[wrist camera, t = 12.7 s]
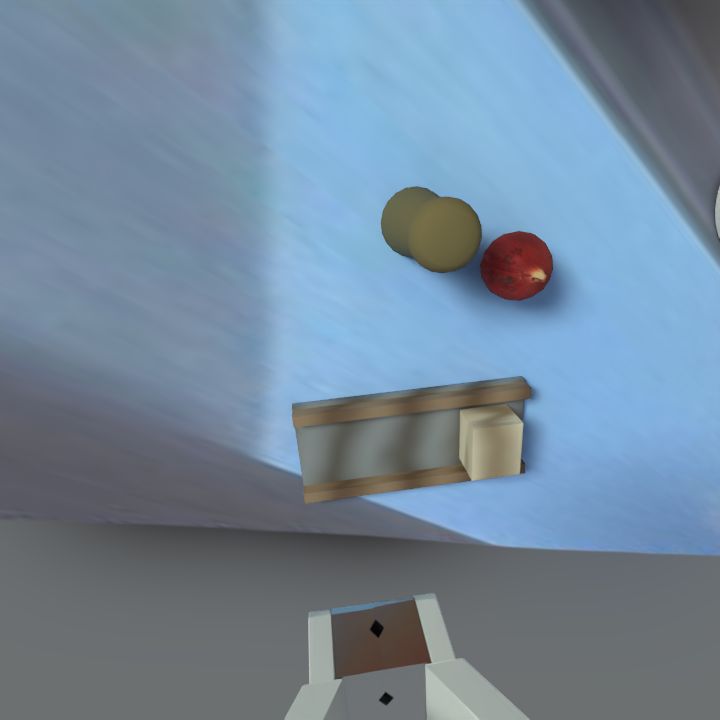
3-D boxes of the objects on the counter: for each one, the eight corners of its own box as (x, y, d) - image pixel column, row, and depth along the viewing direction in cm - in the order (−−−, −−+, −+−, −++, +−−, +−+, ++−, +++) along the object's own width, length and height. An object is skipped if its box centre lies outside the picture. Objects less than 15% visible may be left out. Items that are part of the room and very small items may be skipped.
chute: (521, 376, 48) (531, 385, 46) (515, 463, 52) (524, 475, 50) (292, 403, 46) (291, 414, 44) (305, 492, 51) (305, 505, 49)
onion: (472, 295, 44) (507, 320, 37) (465, 235, 42) (500, 249, 35) (530, 281, 44) (576, 302, 37) (526, 220, 42) (574, 230, 35)
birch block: (506, 403, 48) (523, 423, 44) (503, 452, 50) (519, 474, 47) (459, 409, 48) (473, 429, 44) (459, 458, 50) (471, 480, 46)
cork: (425, 171, 40) (467, 171, 29) (459, 230, 42) (509, 249, 32) (367, 214, 40) (390, 227, 30) (404, 269, 43) (436, 300, 32)
